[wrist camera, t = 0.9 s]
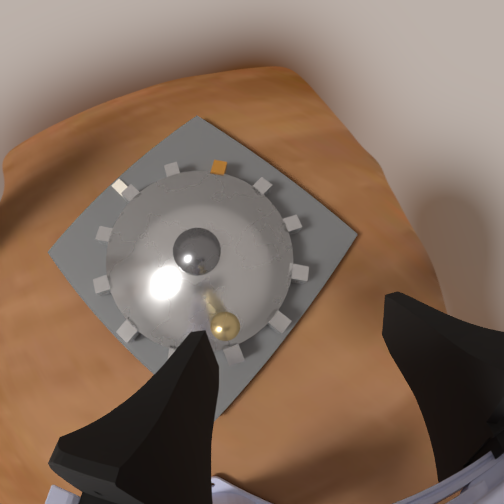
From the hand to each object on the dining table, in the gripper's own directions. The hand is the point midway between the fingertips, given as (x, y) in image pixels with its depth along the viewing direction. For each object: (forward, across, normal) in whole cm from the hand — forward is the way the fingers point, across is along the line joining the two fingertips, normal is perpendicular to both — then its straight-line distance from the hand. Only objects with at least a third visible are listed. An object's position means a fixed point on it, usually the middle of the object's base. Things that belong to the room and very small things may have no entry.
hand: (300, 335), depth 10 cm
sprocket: (+12, +6, 0) cm, 13 cm away
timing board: (+14, +6, 0) cm, 15 cm away
